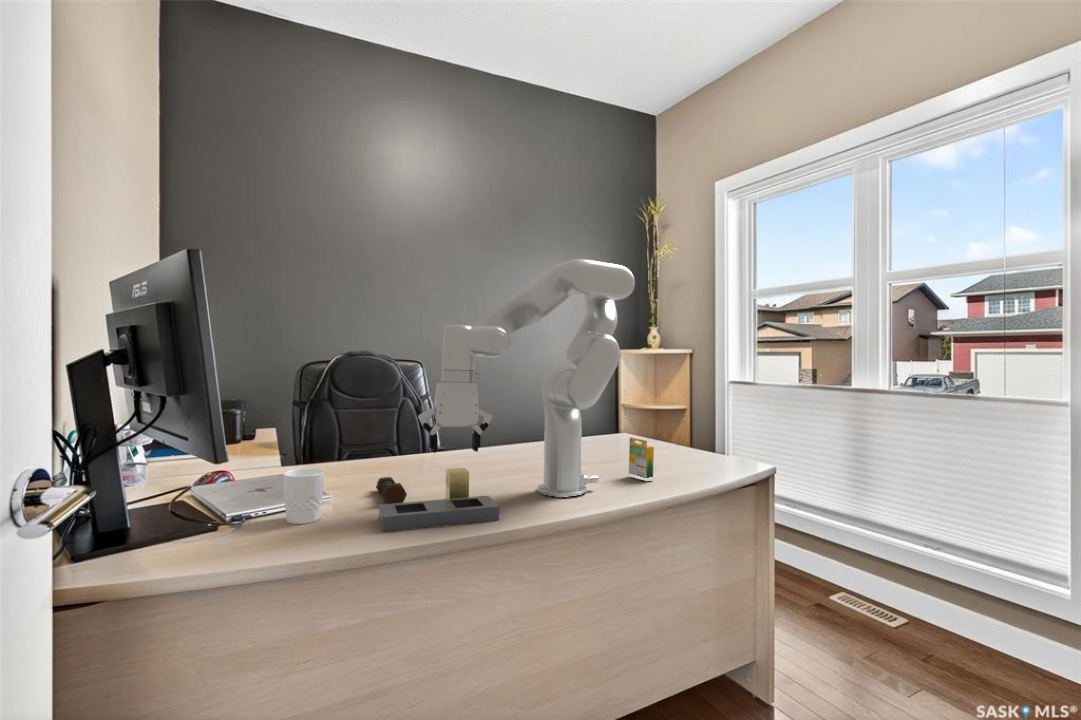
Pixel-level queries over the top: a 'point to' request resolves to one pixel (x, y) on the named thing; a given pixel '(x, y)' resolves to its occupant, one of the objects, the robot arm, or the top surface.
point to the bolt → (391, 490)
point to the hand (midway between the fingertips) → (454, 451)
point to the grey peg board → (437, 513)
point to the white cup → (303, 495)
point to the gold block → (457, 483)
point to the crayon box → (641, 458)
